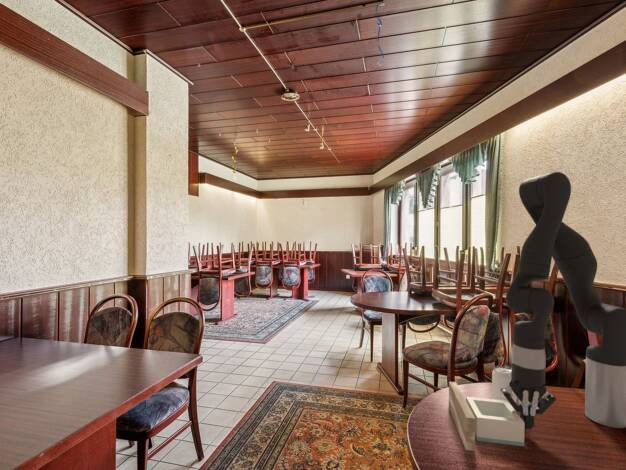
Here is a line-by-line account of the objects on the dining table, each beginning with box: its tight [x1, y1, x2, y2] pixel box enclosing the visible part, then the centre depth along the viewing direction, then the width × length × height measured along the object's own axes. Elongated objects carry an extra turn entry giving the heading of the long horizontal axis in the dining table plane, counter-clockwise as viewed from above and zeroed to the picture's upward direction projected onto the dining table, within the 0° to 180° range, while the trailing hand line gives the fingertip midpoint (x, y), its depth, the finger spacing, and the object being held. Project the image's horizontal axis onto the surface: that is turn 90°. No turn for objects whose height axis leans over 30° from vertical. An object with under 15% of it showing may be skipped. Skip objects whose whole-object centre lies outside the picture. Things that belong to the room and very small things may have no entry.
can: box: [491, 365, 517, 412], centre depth 100 cm, size 6×6×12 cm
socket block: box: [465, 396, 525, 447], centre depth 89 cm, size 11×11×6 cm
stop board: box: [448, 381, 476, 452], centre depth 91 cm, size 2×20×8 cm, turn 169°
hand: (526, 427), depth 87 cm, fingers closed
